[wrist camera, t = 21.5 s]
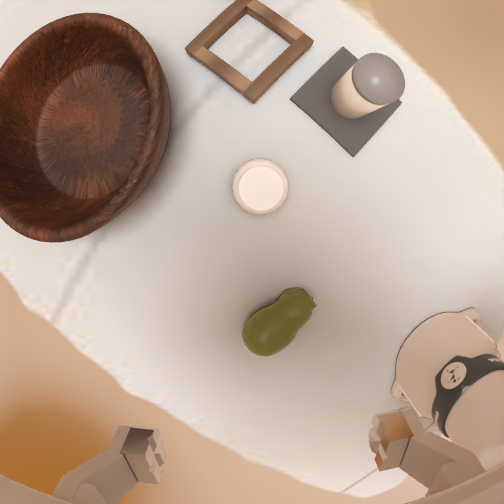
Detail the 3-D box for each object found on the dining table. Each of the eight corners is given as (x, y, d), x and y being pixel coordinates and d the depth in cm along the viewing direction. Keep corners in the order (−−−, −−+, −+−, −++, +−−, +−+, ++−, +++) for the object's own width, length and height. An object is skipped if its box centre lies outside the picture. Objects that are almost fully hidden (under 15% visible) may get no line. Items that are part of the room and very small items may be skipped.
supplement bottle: (289, 171, 36) (301, 170, 27) (272, 213, 38) (278, 228, 28) (245, 154, 36) (242, 148, 26) (229, 197, 37) (220, 206, 28)
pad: (400, 103, 34) (402, 102, 33) (352, 156, 36) (354, 156, 35) (341, 48, 32) (343, 46, 32) (290, 99, 34) (290, 98, 34)
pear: (234, 340, 36) (303, 283, 36) (231, 324, 41) (291, 274, 41) (265, 371, 37) (330, 317, 37) (259, 353, 42) (317, 304, 42)
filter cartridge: (376, 99, 33) (413, 80, 24) (353, 127, 34) (385, 114, 25) (346, 71, 33) (374, 43, 23) (321, 98, 34) (343, 75, 24)
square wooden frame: (330, 29, 32) (337, 16, 28) (253, 103, 34) (253, 95, 30) (243, -30, 29) (242, -45, 26) (165, 39, 32) (157, 26, 28)
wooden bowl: (150, 252, 39) (119, 278, 29) (8, 197, 37) (-38, 207, 27) (215, 59, 33) (203, 24, 23) (56, 35, 31) (17, 13, 21)
